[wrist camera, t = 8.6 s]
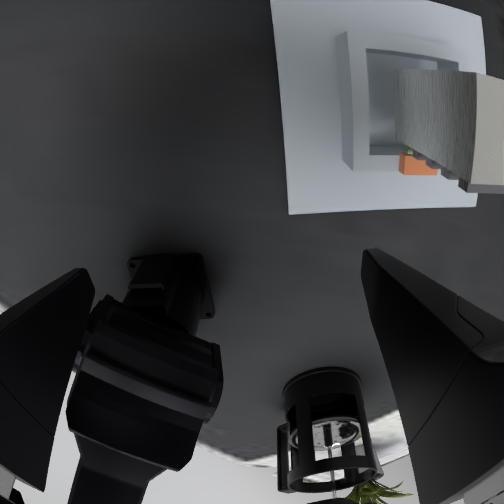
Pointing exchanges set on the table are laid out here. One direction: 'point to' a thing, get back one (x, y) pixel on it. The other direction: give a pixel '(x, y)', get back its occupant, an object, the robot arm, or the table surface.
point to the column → (453, 124)
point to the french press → (324, 434)
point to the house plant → (372, 485)
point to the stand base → (363, 99)
